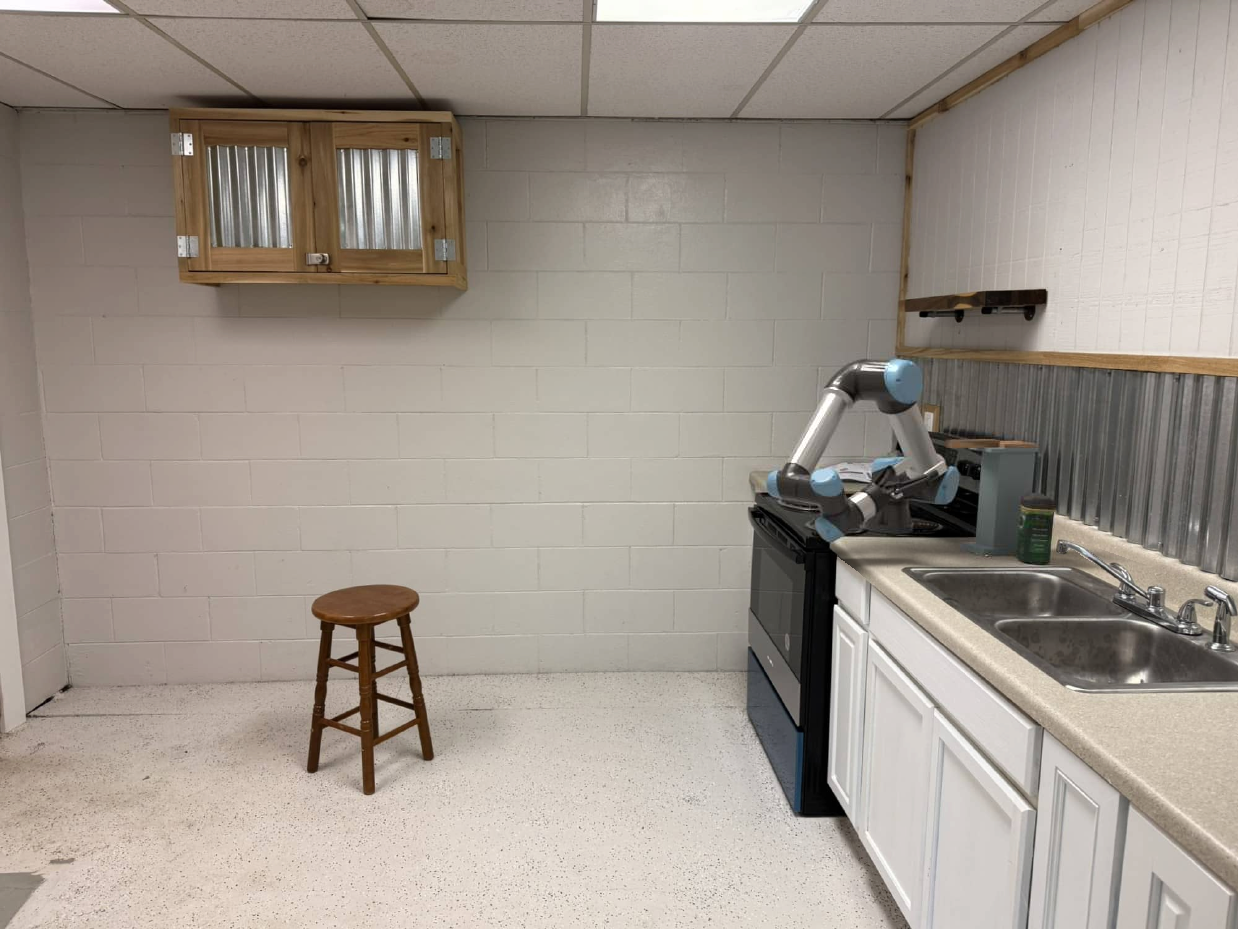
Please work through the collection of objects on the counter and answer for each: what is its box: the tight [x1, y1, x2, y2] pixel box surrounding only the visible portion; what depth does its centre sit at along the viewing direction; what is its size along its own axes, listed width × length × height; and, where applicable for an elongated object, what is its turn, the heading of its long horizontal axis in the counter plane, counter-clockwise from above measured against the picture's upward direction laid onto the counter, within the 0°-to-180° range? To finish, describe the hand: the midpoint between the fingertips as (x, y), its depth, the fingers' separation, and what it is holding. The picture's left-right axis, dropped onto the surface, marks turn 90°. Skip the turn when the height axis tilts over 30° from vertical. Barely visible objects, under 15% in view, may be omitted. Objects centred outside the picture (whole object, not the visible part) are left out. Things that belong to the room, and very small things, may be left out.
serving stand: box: [960, 447, 1040, 557], centre depth 241 cm, size 9×16×30 cm, turn 108°
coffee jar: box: [1015, 492, 1056, 565], centre depth 231 cm, size 10×8×19 cm
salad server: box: [944, 438, 1038, 449], centre depth 238 cm, size 8×26×2 cm, turn 108°
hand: (928, 462), depth 233 cm, fingers open, 13 cm apart
